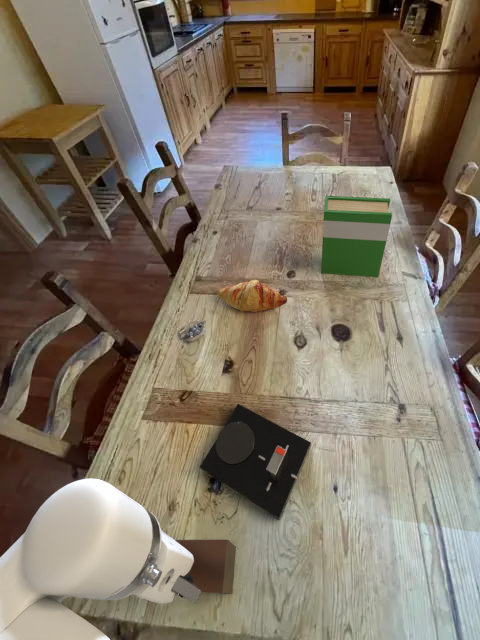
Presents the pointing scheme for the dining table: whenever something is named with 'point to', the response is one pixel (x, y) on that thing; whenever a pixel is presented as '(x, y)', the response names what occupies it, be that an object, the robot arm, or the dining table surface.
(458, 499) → the dining table surface
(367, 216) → the hardback book
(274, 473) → the hob knob
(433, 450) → the dining table surface
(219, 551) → the shelf
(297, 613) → the dining table surface
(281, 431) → the hob
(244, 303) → the croissant
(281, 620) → the dining table surface
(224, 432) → the disc
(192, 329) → the blueberries
